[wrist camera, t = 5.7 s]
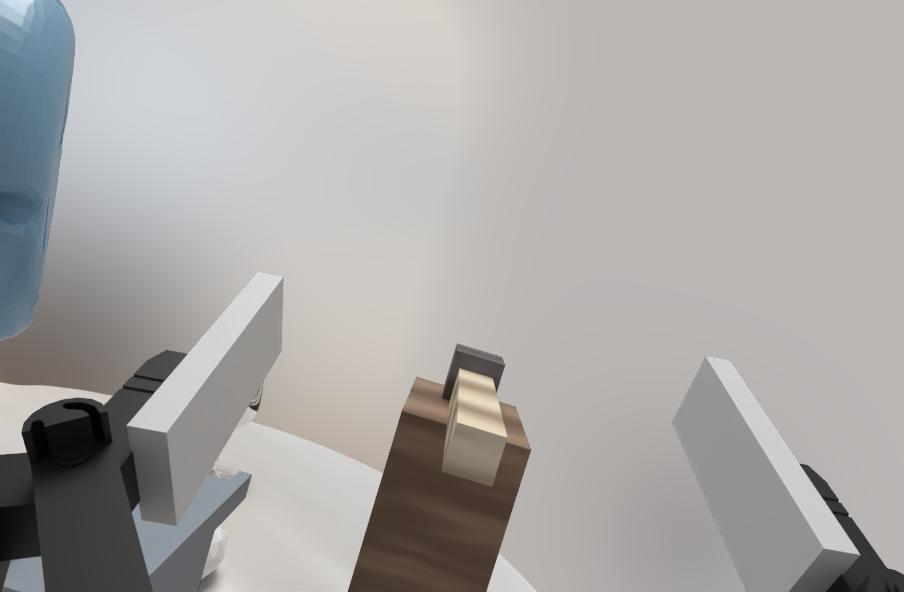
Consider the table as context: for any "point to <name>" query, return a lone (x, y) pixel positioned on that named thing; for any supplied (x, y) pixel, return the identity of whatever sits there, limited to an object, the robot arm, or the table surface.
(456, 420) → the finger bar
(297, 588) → the table surface
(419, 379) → the walnut stand
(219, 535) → the ornament
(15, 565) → the rail stand
